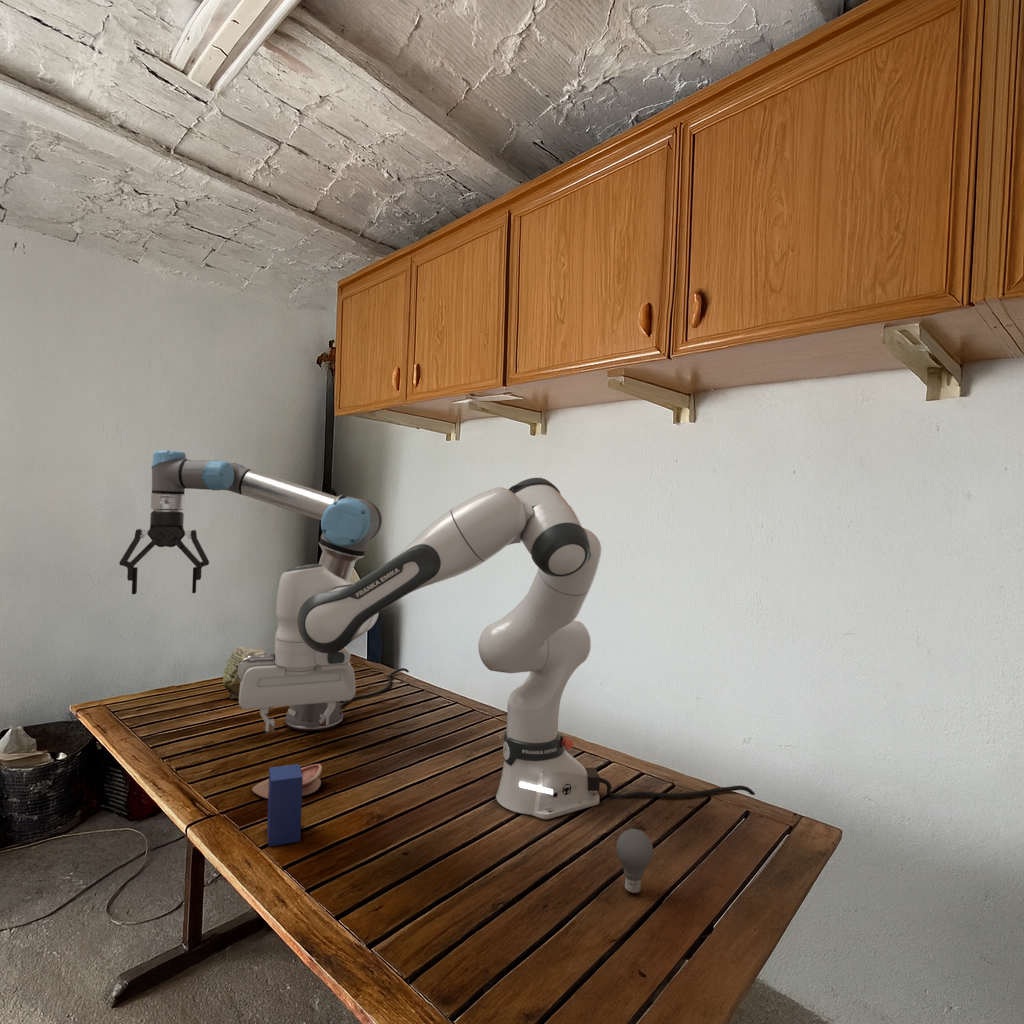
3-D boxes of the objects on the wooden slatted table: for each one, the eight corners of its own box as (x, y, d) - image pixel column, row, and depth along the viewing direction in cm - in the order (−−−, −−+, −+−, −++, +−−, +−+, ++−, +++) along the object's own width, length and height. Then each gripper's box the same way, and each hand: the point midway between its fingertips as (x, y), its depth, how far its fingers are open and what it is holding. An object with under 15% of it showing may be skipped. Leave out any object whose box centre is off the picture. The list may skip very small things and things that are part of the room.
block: (268, 846, 114) (270, 781, 114) (267, 830, 120) (269, 767, 120) (300, 841, 116) (302, 776, 116) (297, 825, 122) (299, 763, 122)
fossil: (218, 695, 195) (220, 647, 195) (278, 685, 208) (279, 640, 207) (228, 703, 189) (230, 653, 188) (289, 692, 201) (290, 645, 201)
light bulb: (610, 879, 108) (613, 822, 108) (644, 879, 109) (647, 822, 109) (619, 902, 102) (622, 840, 102) (655, 901, 103) (658, 840, 103)
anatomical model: (244, 776, 132) (275, 755, 144) (243, 795, 132) (274, 772, 144) (301, 785, 130) (329, 762, 141) (301, 804, 130) (328, 780, 141)
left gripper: (108, 509, 155) (105, 596, 155) (220, 512, 165) (217, 594, 165) (113, 508, 161) (110, 591, 162) (221, 511, 172) (218, 590, 172)
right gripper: (238, 660, 108) (235, 740, 109) (359, 653, 117) (356, 727, 117) (237, 651, 114) (234, 727, 114) (352, 645, 123) (349, 716, 123)
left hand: (164, 593), depth 163 cm, fingers open, 13 cm apart
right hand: (297, 727), depth 116 cm, fingers open, 8 cm apart
